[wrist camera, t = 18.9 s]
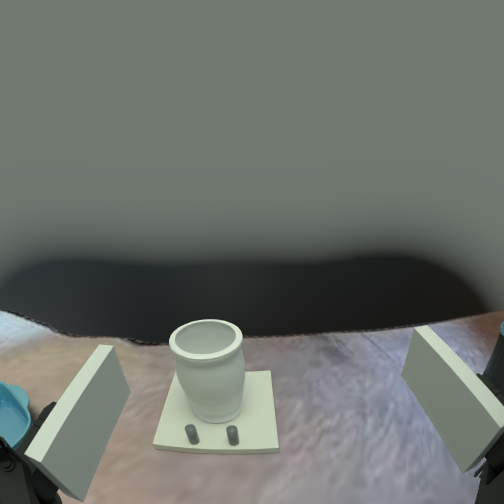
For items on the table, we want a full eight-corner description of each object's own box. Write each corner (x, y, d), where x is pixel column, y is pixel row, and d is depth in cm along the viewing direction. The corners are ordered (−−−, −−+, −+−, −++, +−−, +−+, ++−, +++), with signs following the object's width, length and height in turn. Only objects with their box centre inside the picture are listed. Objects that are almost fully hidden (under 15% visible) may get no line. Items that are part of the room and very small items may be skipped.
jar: (260, 400, 43) (256, 330, 38) (223, 438, 34) (208, 368, 30) (213, 379, 48) (202, 312, 44) (175, 409, 40) (154, 340, 36)
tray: (270, 376, 51) (269, 357, 50) (278, 452, 33) (278, 435, 31) (176, 377, 51) (172, 358, 50) (155, 448, 33) (146, 431, 31)
